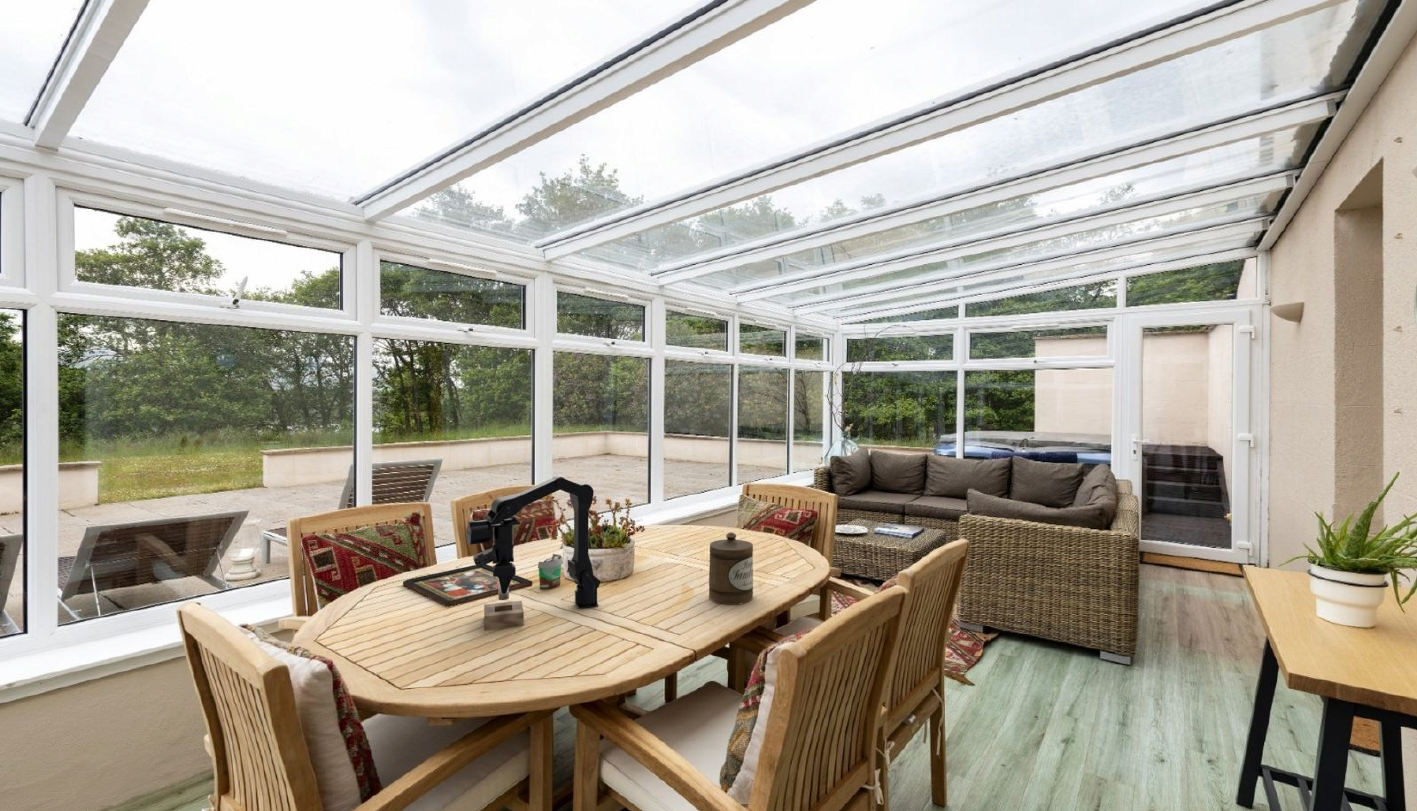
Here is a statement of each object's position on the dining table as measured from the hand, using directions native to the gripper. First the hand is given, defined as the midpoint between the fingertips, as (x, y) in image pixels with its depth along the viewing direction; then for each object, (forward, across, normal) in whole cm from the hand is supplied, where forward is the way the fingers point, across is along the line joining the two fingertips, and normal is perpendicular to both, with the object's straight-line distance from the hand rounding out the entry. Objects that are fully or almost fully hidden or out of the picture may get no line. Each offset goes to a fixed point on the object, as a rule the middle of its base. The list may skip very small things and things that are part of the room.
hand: (503, 591), depth 188 cm
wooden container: (+9, +2, +73) cm, 74 cm away
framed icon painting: (+10, -42, -11) cm, 45 cm away
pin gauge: (+2, 0, 0) cm, 2 cm away
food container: (+9, -31, +18) cm, 37 cm away
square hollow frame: (+9, 0, 0) cm, 9 cm away
